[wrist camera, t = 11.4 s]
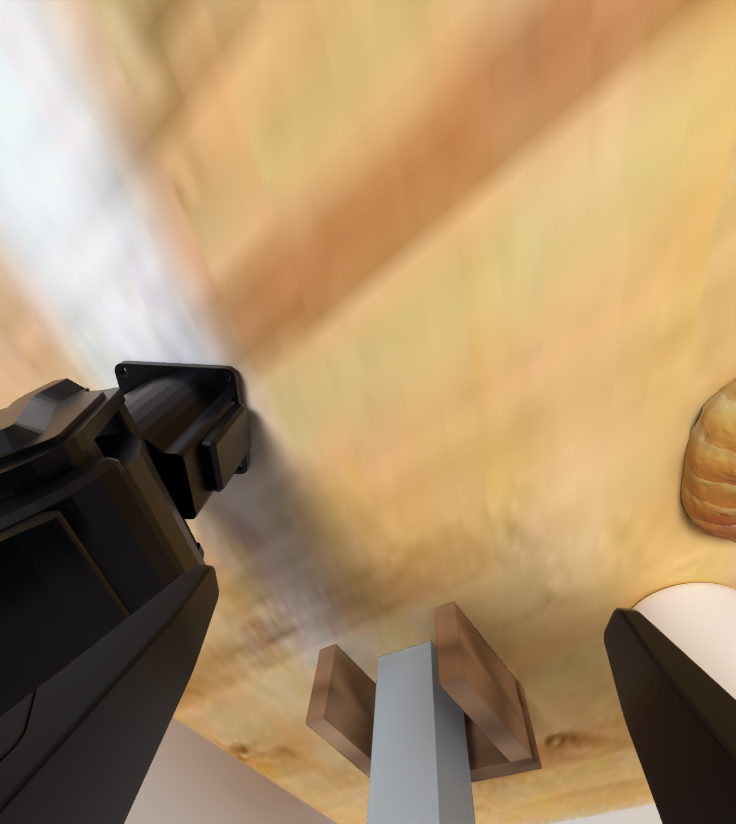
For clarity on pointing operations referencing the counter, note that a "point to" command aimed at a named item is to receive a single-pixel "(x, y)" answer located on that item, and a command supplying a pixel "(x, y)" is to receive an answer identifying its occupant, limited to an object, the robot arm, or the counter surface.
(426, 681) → the block
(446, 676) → the brown wooden tray
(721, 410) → the pastry
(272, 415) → the counter surface
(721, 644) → the pill bottle
